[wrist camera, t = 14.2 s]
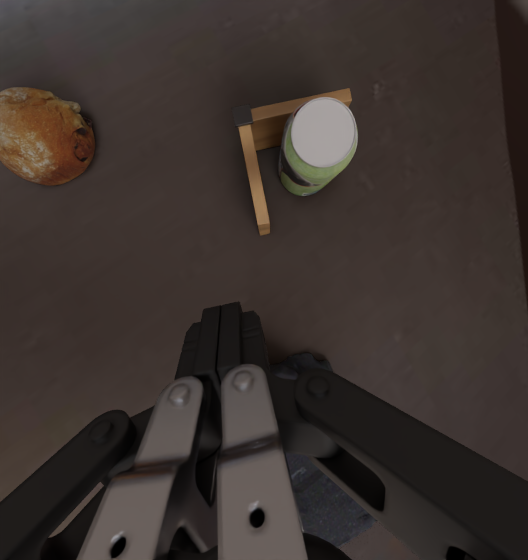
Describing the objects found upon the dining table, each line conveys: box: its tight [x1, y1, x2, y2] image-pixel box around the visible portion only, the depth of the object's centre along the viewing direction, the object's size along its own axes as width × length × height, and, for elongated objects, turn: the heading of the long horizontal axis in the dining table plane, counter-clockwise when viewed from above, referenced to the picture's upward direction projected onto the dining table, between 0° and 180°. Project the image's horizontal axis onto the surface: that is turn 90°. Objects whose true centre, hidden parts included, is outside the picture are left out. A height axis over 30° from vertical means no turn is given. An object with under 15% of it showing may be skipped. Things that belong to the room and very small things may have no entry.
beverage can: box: [278, 97, 358, 196], centre depth 25 cm, size 6×7×12 cm
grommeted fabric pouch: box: [269, 353, 377, 548], centre depth 29 cm, size 15×22×5 cm
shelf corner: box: [232, 88, 352, 235], centre depth 28 cm, size 12×12×6 cm
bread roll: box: [0, 87, 95, 185], centre depth 30 cm, size 10×10×8 cm
